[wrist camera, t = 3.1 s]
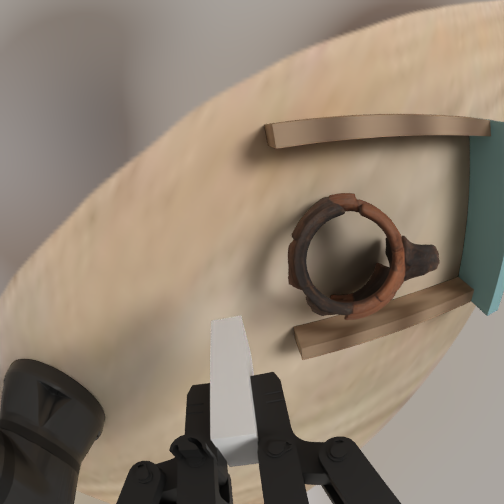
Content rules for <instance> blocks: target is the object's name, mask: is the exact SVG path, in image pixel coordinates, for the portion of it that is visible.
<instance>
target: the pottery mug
mask: <svg viewBox="0 0 504 504" xmlns="http://www.w3.org/2000/svg"><path fill="white" fill-rule="evenodd" d="M345 211H355V212H359V213H360V215H361V216H363V217H366V218H368V219H370V220H372V221H373V222H375V223H376V224H377V225H378V226H379V227H380V228H381V229H382V230H383V231H384V233H385V234H386V236H387V238H386V256H387V258H388V261H389V265H390V268H389V267H387V266H383V265H382V264H380V263H376V266H375V269H374V272H373V274H372V276H371V278H370V279H369V281H368V282H367V283H366V284H365V285H364V286H363V287H362V288H361V289H359V290H358V291H356V292H354V293H351V294H346V295H331V296H330V298H328V297H326V296H325V295H323V294H322V293H321V292H319V291H318V290H317V289H316V287H315V286H314V285H313V284H312V282H311V280H310V277H309V274H308V271H307V265H306V258H307V250H308V247H309V244H310V241H311V239H312V238H313V236H314V235H315V233H316V232H317V230H318V229H319V228H320V227H321V226H322V225H323V224H325V223H326V222H327V221H329V220H331V219H333V218H335V217H338V216H340V215H343V214H344V213H345ZM292 238H293V239H294V240H293V241H292V242H291V243H290V245H289V248H288V264H289V272H288V274H289V276H288V280H289V284H290V285H292V286H293V287H295V288H297V289H300V290H303V292H304V293H305V294H306V296H307V297H306V300H307V303H308V305H309V306H310V307H311V309H312V311H313V312H315V313H317V314H319V315H321V316H325V315H334V314H338V315H345V317H344V319H345V320H356V319H360V318H364V317H367V316H369V315H371V314H373V313H375V312H377V311H378V310H380V309H381V308H383V307H384V306H385V305H386V304H388V303H389V302H390V300H392V299H393V297H394V296H395V294H396V292H397V290H398V289H399V288H400V286H401V285H402V284H403V282H404V281H406V280H408V279H411V278H414V277H418V276H422V275H425V274H426V273H428V272H430V271H433V270H435V269H437V266H438V264H439V253H438V251H437V249H436V247H435V246H434V245H417V244H413V243H411V242H410V241H409V240H408V239H407V238H406V237H405V236H401V234H400V233H399V231H398V229H397V228H396V226H395V225H394V223H393V222H392V220H391V219H390V218H389V217H388V216H387V215H386V214H384V213H383V212H382V211H381V210H380V209H378V208H377V207H375V206H373V205H372V204H370V203H367V202H365V201H362V200H357V199H356V197H355V194H351V193H341V194H334V195H330V196H329V198H328V197H325V198H322V199H320V200H319V201H318V202H317V203H316V204H314V205H313V206H312V207H311V208H310V209H309V210H308V211H307V212H306V213H305V214H304V216H303V217H302V218H301V219H300V221H299V222H298V224H297V226H296V227H295V229H294V231H293V233H292Z"/></svg>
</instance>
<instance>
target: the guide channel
mask: <svg viewBox="0 0 504 504" xmlns="http://www.w3.org/2000/svg"><path fill="white" fill-rule="evenodd" d="M264 126H265V132H266V137H267V143H268V146H271V147H273V148H276V149H277V148H284V147H290V146H297V145H305V144H313V143H321V142H329V141H339V140H349V139H361V138H374V137H390V136H414V135H468V136H491V126H490V120H485V119H478V118H470V117H460V116H446V115H424V114H374V115H351V116H336V117H324V118H313V119H304V120H295V121H287V122H279V123H272V124H266V125H264ZM473 292H474V289H472V288H471V287H470V286H469V285H468V284H467V283H465V282H464V281H463V280H462V279H460V278H459V277H456V278H454V279H451V280H449V281H446V282H443V283H440V284H438V285H435V286H432V287H429V288H426V289H423V290H420V291H417V292H415V293H412V294H409V295H405V296H402V297H399V298H396V299H393V300H390V302H389V303H388V304H386V305H385V306H384V307H383V308H381V309H380V310H378V311H377V312H375V313H373V314H371V315H369V316H367V317H364V318H360V319H356V320H345V319H344V317H345V315H338V316H335V317H331V318H327V319H323V320H319V321H315V322H311V323H307V324H303V325H299V326H295V327H294V334H295V340H296V343H297V346H298V348H299V351H300V354H301V357H302V360H305V359H309V358H313V357H317V356H320V355H324V354H328V353H331V352H335V351H338V350H342V349H345V348H349V347H352V346H355V345H359V344H362V343H365V342H368V341H371V340H374V339H377V338H380V337H383V336H386V335H389V334H392V333H395V332H397V331H400V330H403V329H406V328H408V327H411V326H414V325H416V324H419V323H421V322H424V321H427V320H429V319H431V318H434V317H436V316H439V315H441V314H444V313H446V312H448V311H451V310H453V309H455V308H457V307H460V306H462V305H464V304H466V303H468V302H470V301H471V300H472V296H473Z"/></svg>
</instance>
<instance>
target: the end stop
mask: <svg viewBox="0 0 504 504" xmlns="http://www.w3.org/2000/svg"><path fill="white" fill-rule="evenodd" d="M470 118H471V117H470ZM478 119H480V118H478ZM485 120H487V119H485ZM490 126H491V136H469V138H470V185H469V202H468V215H467V224H466V233H465V241H464V247H463V254H462V260H461V266H460V271H459V276H458V277H459V278H460V279H462V280H463V281H464V282H465V283H467V284H468V285H469V286H470V287H471V288H472V289H474V292H473V296H472V300H471V301H472V302H473V303H474V304H475V305H476V306H477V307H478V308H479V309H480V310H482V312H483V313H485V314H486V315H487V316H488V315H490V314H491V313H493V312H495V311H497V310H498V307H499V304H500V301H501V298H502V295H503V291H504V122H500V121H494V120H490Z"/></svg>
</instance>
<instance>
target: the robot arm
mask: <svg viewBox="0 0 504 504" xmlns="http://www.w3.org/2000/svg"><path fill="white" fill-rule="evenodd" d="M104 422H105V414H104V411H103V409H102V407H101V405H100V404H99V402H98V401H97V400H96V399H95V398H94V397H93V396H92V395H91V394H90V393H89V392H88V391H87V390H86V389H85V388H84V387H83V386H81V385H80V384H79V383H77V382H76V381H75V380H73V379H72V378H70V377H69V376H67V375H66V374H64V373H62V372H60V371H59V370H57V369H55V368H53V367H51V366H48V365H46V364H44V363H41V362H38V361H34V360H29V359H19V360H16V361H14V362H13V363H12V364H11V366H10V368H9V369H8V371H7V373H6V375H5V378H4V386H3V392H2V399H1V409H0V504H74V500H75V493H76V487H77V481H78V475H79V470H80V466H81V462H82V460H83V459H84V457H85V456H86V454H87V453H88V451H89V450H90V448H91V446H92V444H93V443H94V441H95V440H97V439H98V438H99V437H100V435H101V433H102V430H103V426H104ZM169 451H170V452H171V453H172V454H173V455H174V456H175V458H173V459H171V460H168V461H165V462H162V463H158V464H154V463H152V462H150V461H141V462H137V463H136V464H135V465H133V466H132V468H131V469H130V471H129V473H128V475H127V478H126V480H125V483H124V485H123V488H122V491H121V493H120V496H119V498H118V501H117V503H116V504H233V498H232V487H231V478H230V475H229V474H228V470H227V464H228V465H229V467H232V466H241V465H249V464H256V463H259V469H260V476H261V483H262V491H263V498H264V504H309V502H308V498H307V493H306V489H305V484H311V485H321V486H322V487H323V489H324V490H325V492H326V494H327V495H328V497H329V498H330V500H331V502H332V503H333V504H401V503H400V502H399V500H398V499H397V498H396V496H395V495H394V494H393V493H392V491H391V490H390V489H389V487H388V486H387V485H386V484H385V482H384V481H383V480H382V478H381V477H380V475H379V474H378V473H377V472H376V470H375V469H374V468H373V466H372V465H371V464H370V462H369V461H368V460H367V458H366V457H365V456H364V454H363V453H362V452H361V450H360V449H359V447H358V446H357V445H356V443H355V442H353V441H352V440H351V439H349V438H346V437H334V438H331V439H329V440H327V441H326V442H308V441H304V440H301V439H299V438H298V437H297V436H296V435H295V434H294V433H293V431H292V428H291V425H290V420H289V416H288V411H287V407H286V403H285V398H284V394H283V390H282V385H281V381H280V379H279V378H278V377H277V375H276V374H275V373H274V372H270V373H265V374H260V375H254V372H253V365H252V358H251V352H250V348H249V344H248V340H247V336H246V333H245V329H244V325H243V321H242V317H241V316H235V317H230V318H225V319H219V320H213V321H211V351H210V383H207V384H199V385H192V387H191V389H190V391H189V392H188V394H187V407H186V421H185V435H183V436H180V437H178V438H177V439H175V440H174V442H173V443H172V444H171V446H170V450H169Z"/></svg>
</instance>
